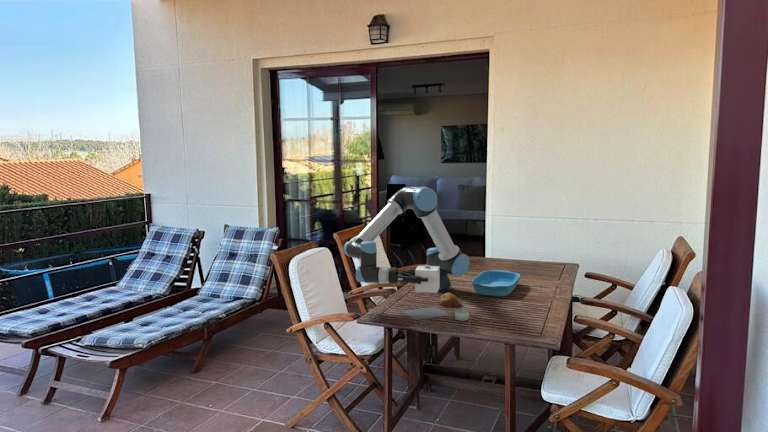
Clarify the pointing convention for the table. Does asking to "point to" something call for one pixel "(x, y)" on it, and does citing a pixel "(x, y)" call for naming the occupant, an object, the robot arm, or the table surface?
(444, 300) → the bread roll
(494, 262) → the table surface
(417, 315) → the rubber mat
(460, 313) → the bowl
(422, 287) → the box cover
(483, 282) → the casserole dish
